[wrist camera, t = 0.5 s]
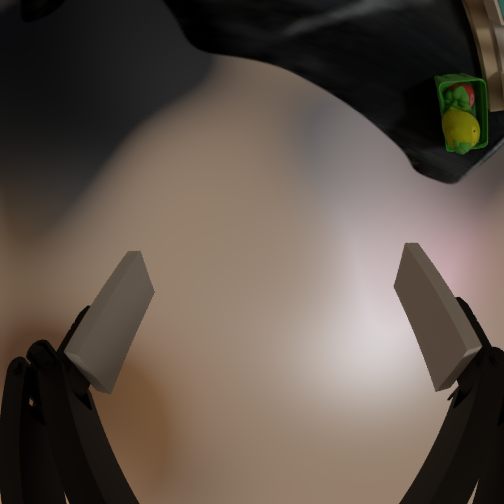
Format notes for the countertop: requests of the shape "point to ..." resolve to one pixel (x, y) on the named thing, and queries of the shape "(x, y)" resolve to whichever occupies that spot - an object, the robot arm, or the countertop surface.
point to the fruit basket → (463, 111)
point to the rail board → (488, 50)
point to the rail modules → (496, 18)
